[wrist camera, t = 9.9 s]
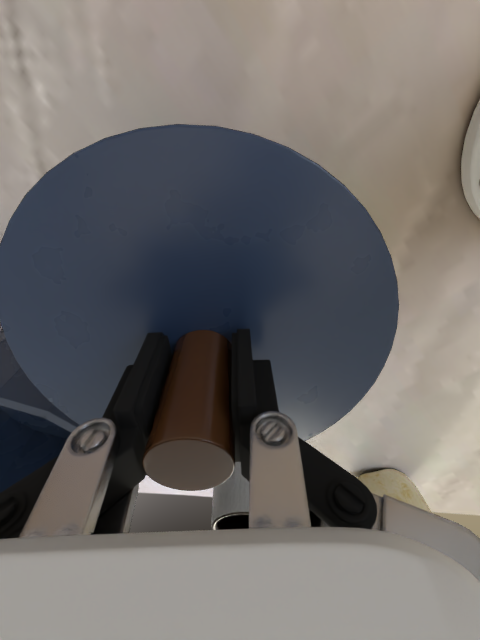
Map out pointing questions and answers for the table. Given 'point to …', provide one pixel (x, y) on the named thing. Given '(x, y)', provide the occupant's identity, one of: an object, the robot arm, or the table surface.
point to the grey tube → (231, 503)
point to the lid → (196, 286)
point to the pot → (26, 423)
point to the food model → (394, 487)
